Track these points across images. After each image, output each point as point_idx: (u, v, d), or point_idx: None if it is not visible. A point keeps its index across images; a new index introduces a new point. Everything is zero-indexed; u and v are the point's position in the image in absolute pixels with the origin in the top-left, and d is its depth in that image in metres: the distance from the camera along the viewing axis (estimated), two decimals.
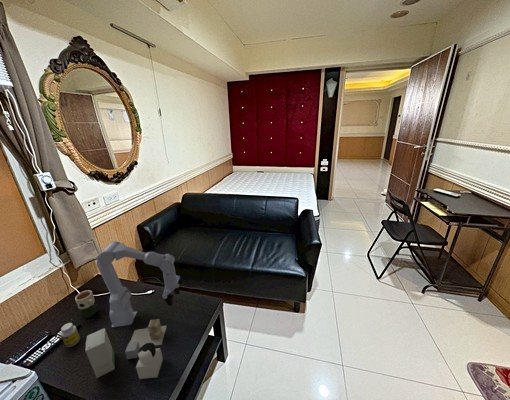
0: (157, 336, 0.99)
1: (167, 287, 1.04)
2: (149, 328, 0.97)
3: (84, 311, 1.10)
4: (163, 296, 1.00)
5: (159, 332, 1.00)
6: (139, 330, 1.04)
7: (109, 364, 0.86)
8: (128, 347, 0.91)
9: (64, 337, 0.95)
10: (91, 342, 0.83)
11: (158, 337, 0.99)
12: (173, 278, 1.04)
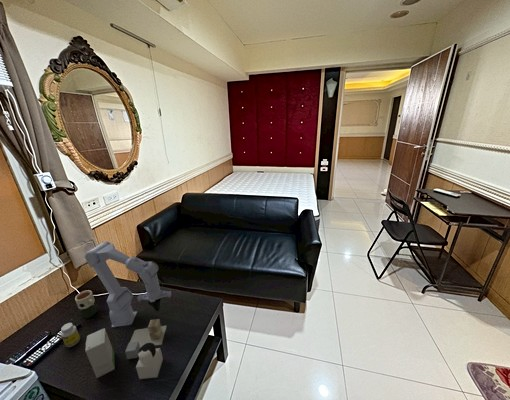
0: (157, 336, 0.99)
1: None
2: (149, 328, 0.97)
3: (84, 311, 1.10)
4: None
5: (159, 332, 1.00)
6: (139, 330, 1.04)
7: (109, 364, 0.86)
8: (128, 347, 0.91)
9: (64, 337, 0.95)
10: (91, 343, 0.83)
11: (158, 337, 0.99)
12: (154, 288, 0.96)
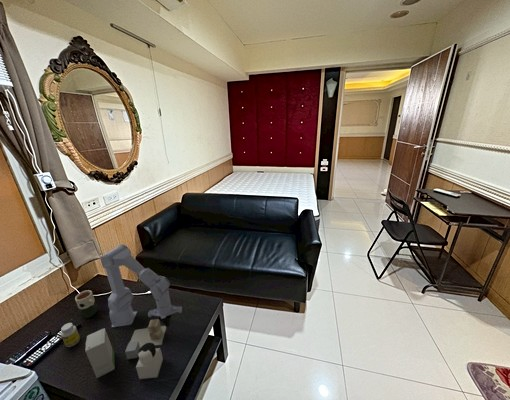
0: (157, 336, 0.99)
1: None
2: (149, 328, 0.97)
3: (84, 311, 1.10)
4: None
5: (159, 332, 1.00)
6: (139, 330, 1.04)
7: (109, 364, 0.86)
8: (128, 347, 0.91)
9: (64, 337, 0.95)
10: (91, 343, 0.83)
11: (158, 337, 0.99)
12: (164, 305, 0.93)
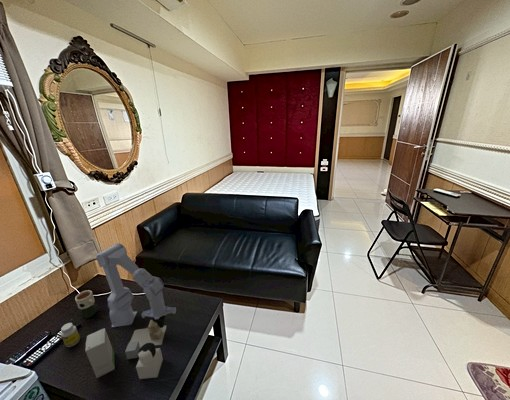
0: (157, 336, 0.99)
1: None
2: (149, 328, 0.97)
3: (84, 311, 1.10)
4: None
5: (159, 332, 1.00)
6: (139, 330, 1.04)
7: (109, 364, 0.86)
8: (128, 347, 0.91)
9: (64, 337, 0.95)
10: (91, 343, 0.83)
11: (158, 337, 0.99)
12: (157, 306, 0.93)
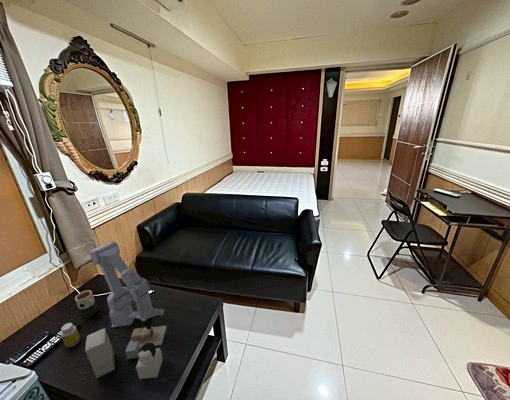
0: (146, 335, 0.98)
1: None
2: (134, 341, 0.98)
3: (84, 311, 1.10)
4: None
5: (143, 332, 0.98)
6: None
7: (109, 364, 0.86)
8: (128, 347, 0.91)
9: (64, 337, 0.95)
10: (91, 342, 0.83)
11: (147, 334, 0.98)
12: (143, 308, 0.92)
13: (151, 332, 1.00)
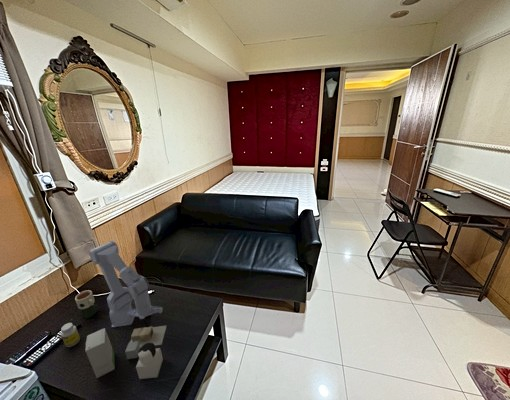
0: (146, 335, 0.98)
1: None
2: (134, 341, 0.98)
3: (84, 311, 1.10)
4: None
5: (143, 332, 0.98)
6: None
7: (109, 364, 0.86)
8: (128, 347, 0.91)
9: (64, 337, 0.95)
10: (91, 342, 0.83)
11: (147, 334, 0.98)
12: (141, 306, 0.91)
13: (151, 332, 1.00)
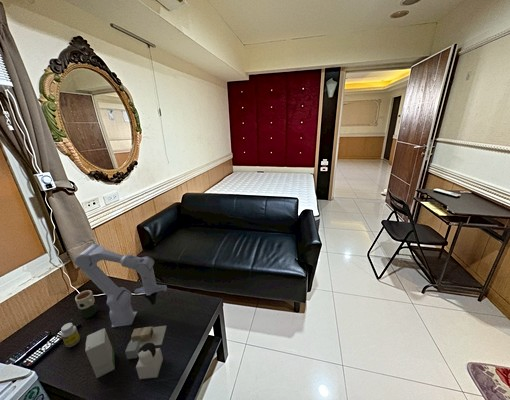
0: (146, 335, 0.98)
1: None
2: (134, 341, 0.98)
3: (84, 311, 1.10)
4: None
5: (143, 332, 0.98)
6: None
7: (109, 364, 0.86)
8: (128, 347, 0.91)
9: (64, 337, 0.95)
10: (91, 343, 0.83)
11: (147, 334, 0.98)
12: (151, 282, 1.01)
13: (151, 332, 1.00)
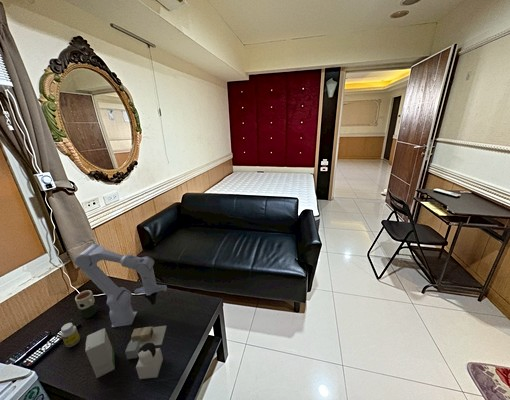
0: (146, 335, 0.98)
1: None
2: (134, 341, 0.98)
3: (84, 311, 1.10)
4: None
5: (143, 332, 0.98)
6: None
7: (109, 364, 0.86)
8: (128, 347, 0.91)
9: (64, 337, 0.95)
10: (91, 343, 0.83)
11: (147, 334, 0.98)
12: (151, 282, 1.01)
13: (151, 332, 1.00)
